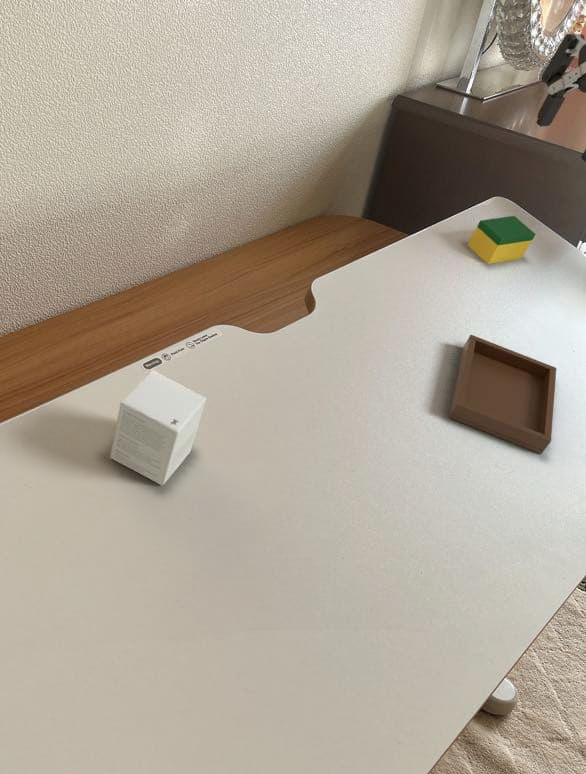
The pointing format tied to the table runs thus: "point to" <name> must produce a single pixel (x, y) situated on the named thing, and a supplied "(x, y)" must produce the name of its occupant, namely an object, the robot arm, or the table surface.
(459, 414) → the tray
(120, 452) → the product box
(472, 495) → the table surface
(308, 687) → the table surface
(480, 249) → the sponge
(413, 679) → the table surface
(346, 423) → the table surface
